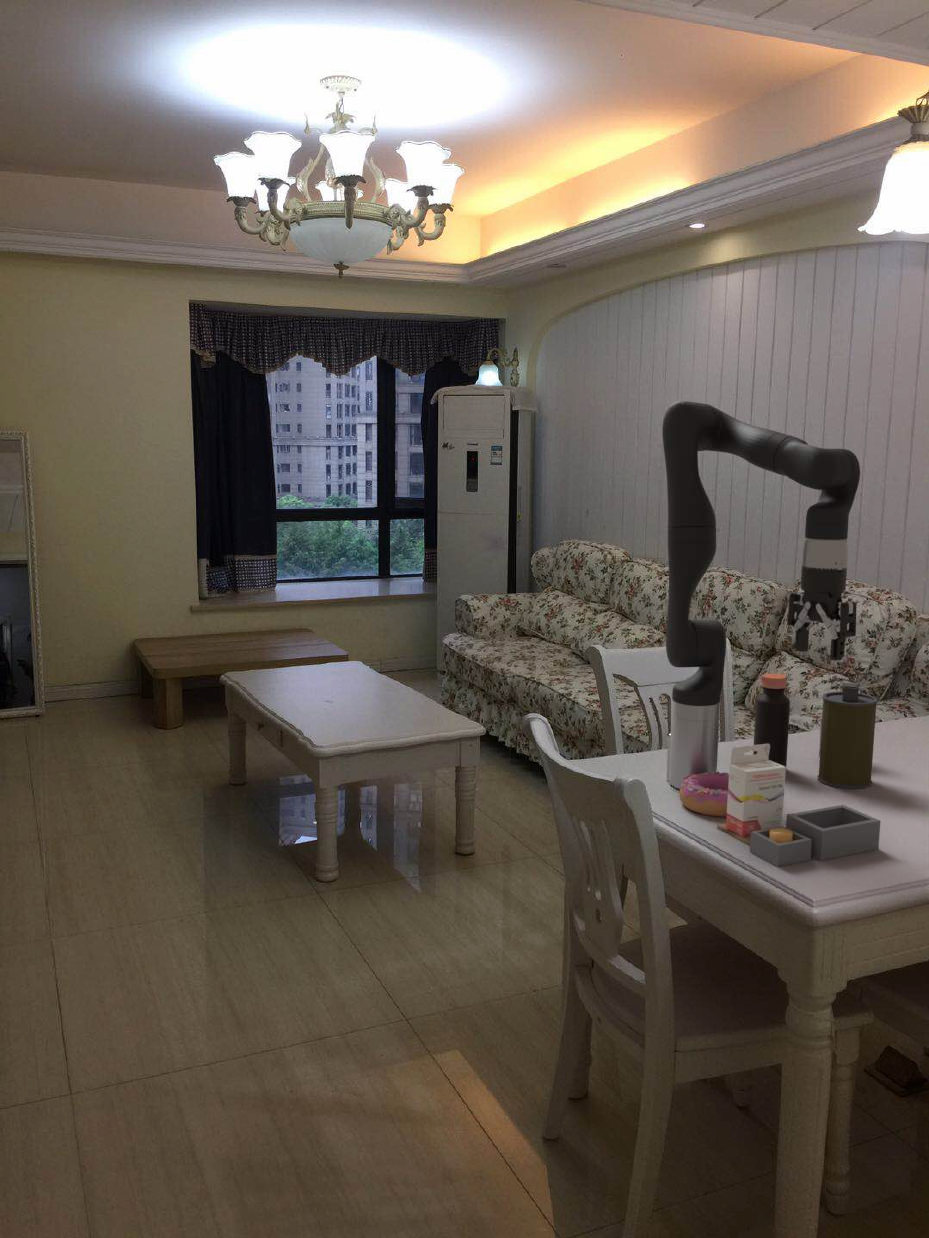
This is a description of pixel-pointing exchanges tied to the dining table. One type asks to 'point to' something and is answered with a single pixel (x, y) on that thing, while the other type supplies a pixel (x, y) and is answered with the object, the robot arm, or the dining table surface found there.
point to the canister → (847, 738)
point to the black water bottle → (773, 717)
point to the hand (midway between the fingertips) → (818, 655)
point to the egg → (780, 835)
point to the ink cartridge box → (754, 791)
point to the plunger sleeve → (780, 847)
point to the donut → (706, 793)
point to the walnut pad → (744, 839)
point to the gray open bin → (836, 831)
